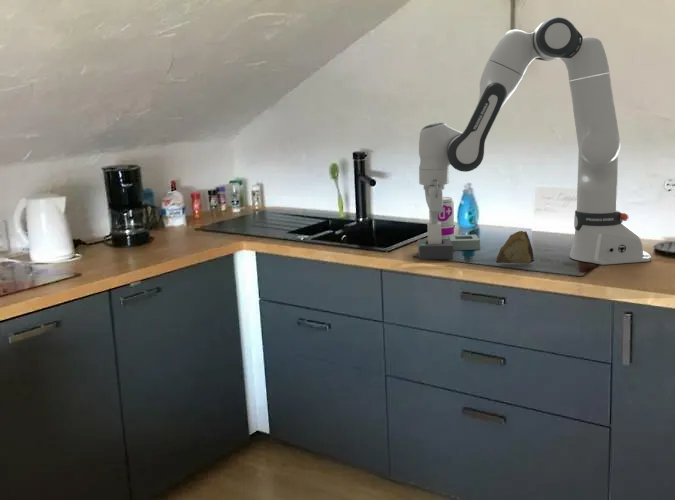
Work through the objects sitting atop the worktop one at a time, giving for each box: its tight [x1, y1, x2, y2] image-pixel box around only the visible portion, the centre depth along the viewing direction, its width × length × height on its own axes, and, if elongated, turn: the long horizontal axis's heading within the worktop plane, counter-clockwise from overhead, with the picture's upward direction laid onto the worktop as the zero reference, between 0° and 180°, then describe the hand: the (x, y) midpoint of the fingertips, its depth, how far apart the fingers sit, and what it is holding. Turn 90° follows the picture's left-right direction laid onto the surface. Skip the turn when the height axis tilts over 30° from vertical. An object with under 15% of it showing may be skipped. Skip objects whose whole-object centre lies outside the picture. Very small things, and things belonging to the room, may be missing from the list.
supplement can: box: [428, 196, 455, 239], centre depth 243 cm, size 8×8×15 cm
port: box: [417, 238, 454, 260], centre depth 221 cm, size 10×10×5 cm
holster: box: [448, 234, 481, 251], centre depth 231 cm, size 9×9×4 cm
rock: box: [496, 230, 535, 264], centre depth 213 cm, size 11×9×10 cm
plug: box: [427, 222, 442, 244], centre depth 220 cm, size 4×3×9 cm
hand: (434, 223), depth 219 cm, fingers closed, pressing on plug
